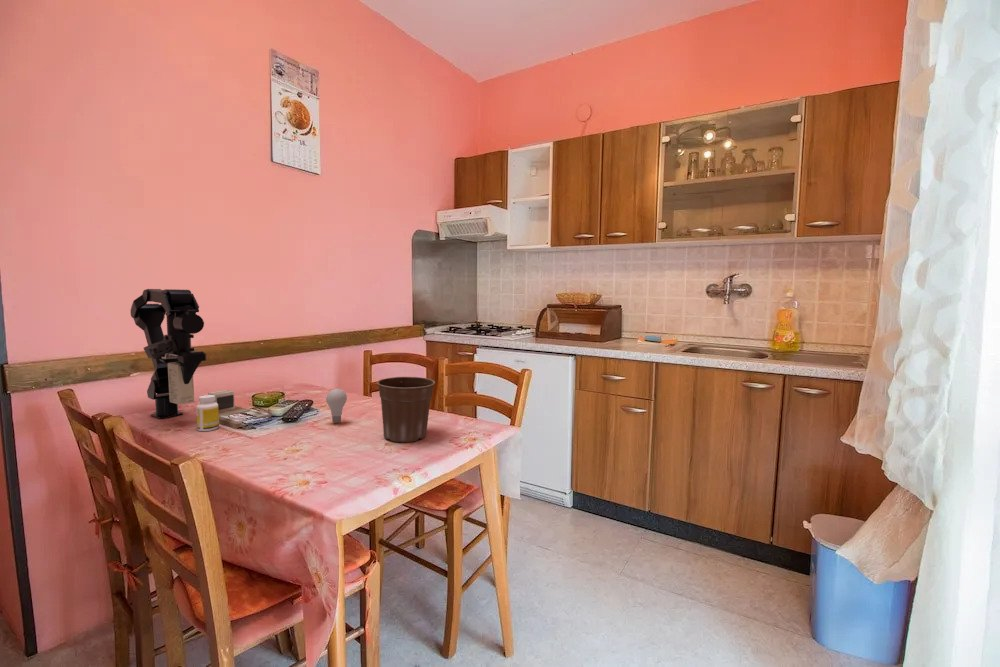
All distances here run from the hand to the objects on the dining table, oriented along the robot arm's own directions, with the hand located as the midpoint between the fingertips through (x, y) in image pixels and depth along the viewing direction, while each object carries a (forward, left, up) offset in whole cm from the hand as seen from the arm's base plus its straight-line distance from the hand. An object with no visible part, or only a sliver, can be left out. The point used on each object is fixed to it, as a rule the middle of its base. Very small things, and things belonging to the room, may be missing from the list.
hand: (181, 382), depth 135 cm
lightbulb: (+38, +26, -13) cm, 48 cm away
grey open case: (+8, +11, -12) cm, 18 cm away
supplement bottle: (+13, +1, -13) cm, 18 cm away
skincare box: (0, 0, -6) cm, 6 cm away
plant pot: (+64, +29, -13) cm, 71 cm away
